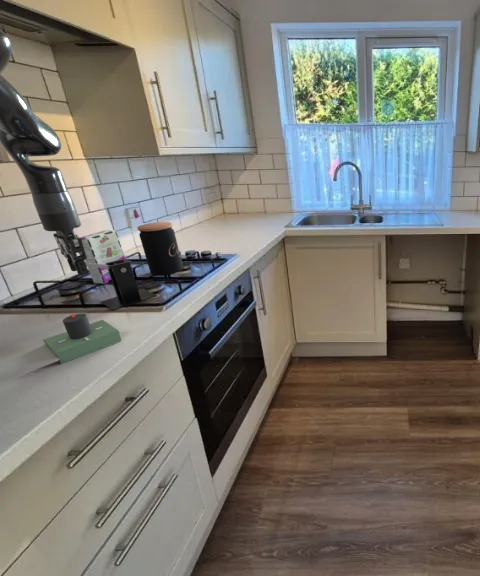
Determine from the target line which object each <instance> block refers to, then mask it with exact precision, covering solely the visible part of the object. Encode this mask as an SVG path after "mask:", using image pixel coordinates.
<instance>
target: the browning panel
mask: <svg viewBox="0 0 480 576" xmlns="http://www.w3.org/2000/svg"><path fill="white" fill-rule="evenodd" d="M90 326H91V328H92V331H93V332H92V333H91V334H90V335H88V336H86V337H83V338H79V339H70V338H69V335H68V333H67V331H64V332H61V333H57V334H55V335H52V336H49V337H46V338H44V339H42V340H43V342H44V345H45V346H46V347H47V348H48V349H49V351H51V353H52V354H53V355H55V357H56V358H57V359H58V363H59V364H60V365H63V364H65V363H68V362H70V361H73V360H75V359H78V358H80V357H81V358H82V357H83V356H86V355H88V354H91V353H93V352H96V351H99V350H101V349H104V348H107V347H109V346H112V345H114V344H117V343H119V342H122V337H121V334H120V331H119V329H117V328H116V327H114V326H113V325H111V324H110V323H109V322H107V321H105V320H104V319H99V320H97V321H94V322H91V323H90Z"/></svg>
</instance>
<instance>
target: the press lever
mask: <svg viewBox="0 0 480 576" xmlns="http://www.w3.org/2000/svg"><path fill="white" fill-rule="evenodd" d="M70 262H71V264H73V265H74V262H73V261H72V260H71V261H70ZM85 263H86V266H87V268H88V267H96V268H105V269H112V267H111V265H104V264H96V263H88V262H85ZM115 264H118V263H113V265H115ZM112 271H113V270H112Z"/></svg>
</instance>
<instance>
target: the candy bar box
mask: <svg viewBox="0 0 480 576" xmlns="http://www.w3.org/2000/svg"><path fill="white" fill-rule="evenodd" d="M79 238H81V239H82V243H83V247H84V250H85V254H86V256H87V259H85V260H84V261H85V262H88V263H96V264H104V265H106V263H108V262H112V261H116V260H121V259H123V260H124V262H127V260H126V256H125V254H124V251H123V248H122V244H121V242H120V239H119V236H118V233H117V230H116V229H115V230H114V229H105V230H101V231H98V232H93V233H91V234H88V235H83V236H81V237H79ZM87 269H88V272H89V275H90V277H91V279H92V282H93V284H95V285H96V284H98V285H105V284H108V283H110V282H109V280H111V277H110V274H109V272H108V269H105V268H96V267H87Z"/></svg>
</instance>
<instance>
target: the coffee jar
mask: <svg viewBox="0 0 480 576" xmlns="http://www.w3.org/2000/svg"><path fill="white" fill-rule="evenodd" d="M136 229H137V230H138V231H139V234H138V236H139V240H140V243H141V246H142V250H143V252H144V256H145V258H146V263H147V267H148V269H149V273H150V275H152V276H156V277H157V276H160V277H162V276H169V275H173V274H176V273H179V272H182V271H183V269H184V263H183V260H182V257H181V252H180V248H179V244H178V241H177V237H176V233H175V229H173V223H172V222H171V221H157V222H149V223H144V224H140V225H139V226H138V225H137V228H136Z"/></svg>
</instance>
